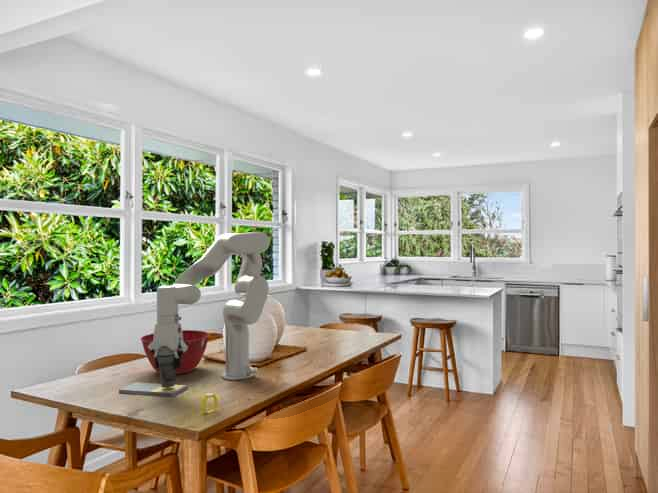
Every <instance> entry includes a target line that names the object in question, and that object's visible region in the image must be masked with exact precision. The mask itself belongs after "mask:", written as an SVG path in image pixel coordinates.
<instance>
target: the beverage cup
mask: <svg viewBox="0 0 658 493" xmlns="http://www.w3.org/2000/svg"><path fill="white" fill-rule="evenodd" d="M174 358H175V355H174V352H173V351H172V350H171V349H170V348H169V347H167V346H161V347H160V348H159V349H158V351H157V360H158V364H159V372H158V373H159V378H160V379H159V380H160V384H161V387H163V388H169V387H173V386H174V385H175V382H176V381H175V380H176V375H175V369H174Z"/></svg>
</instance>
